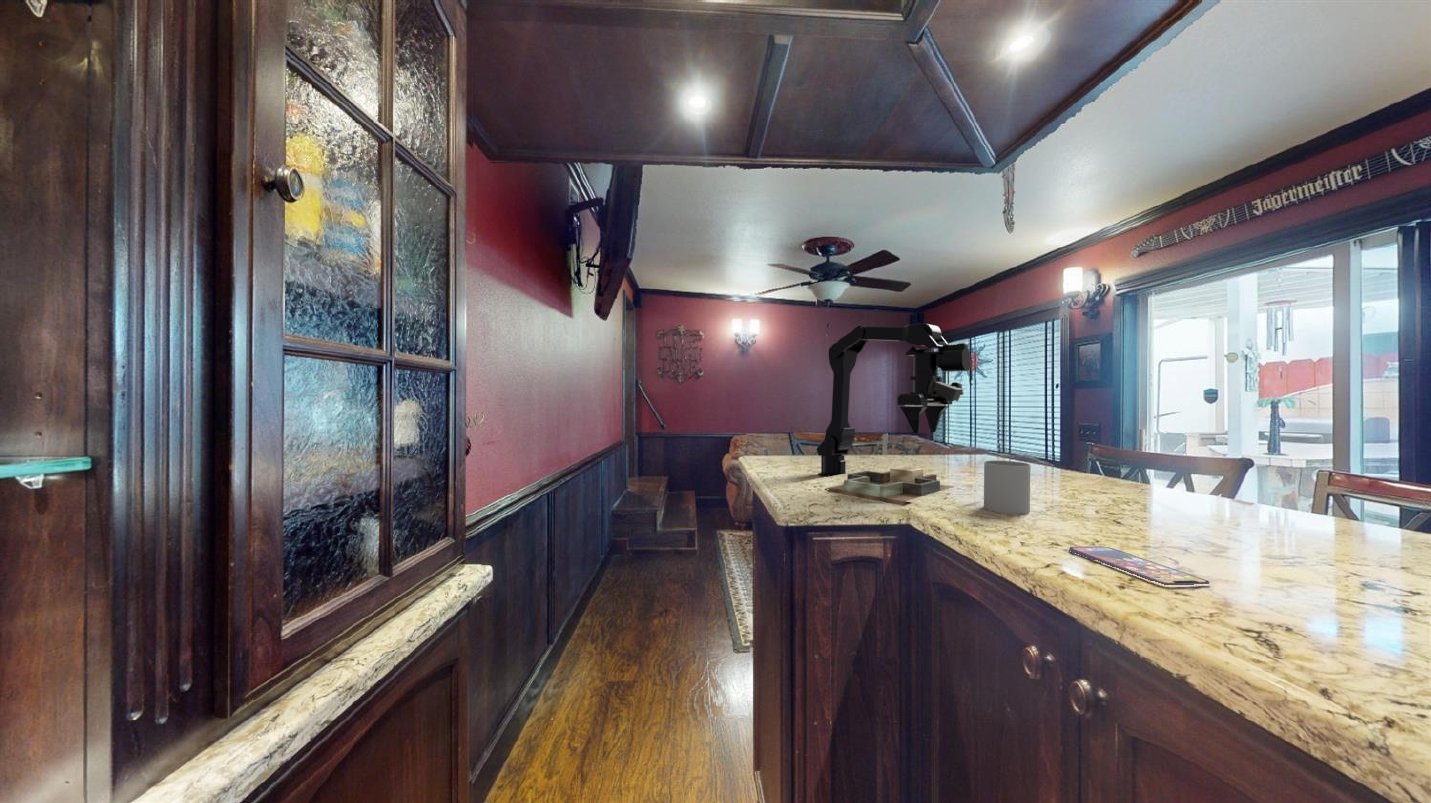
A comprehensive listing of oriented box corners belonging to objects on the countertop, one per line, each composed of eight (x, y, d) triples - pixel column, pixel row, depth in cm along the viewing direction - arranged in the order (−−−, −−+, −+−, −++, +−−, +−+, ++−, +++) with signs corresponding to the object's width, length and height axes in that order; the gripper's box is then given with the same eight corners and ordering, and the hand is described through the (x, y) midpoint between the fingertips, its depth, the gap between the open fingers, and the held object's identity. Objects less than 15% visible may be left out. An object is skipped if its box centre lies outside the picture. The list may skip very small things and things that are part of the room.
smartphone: (1106, 551, 76) (1215, 589, 62) (1064, 552, 76) (1164, 591, 61) (1106, 546, 76) (1215, 582, 62) (1065, 546, 76) (1165, 584, 61)
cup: (1017, 505, 106) (1017, 460, 106) (1038, 515, 98) (1038, 466, 98) (977, 504, 107) (977, 460, 107) (994, 514, 99) (995, 465, 99)
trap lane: (828, 491, 121) (828, 477, 121) (882, 479, 138) (882, 467, 138) (903, 505, 106) (903, 489, 106) (954, 490, 123) (954, 477, 123)
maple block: (890, 483, 127) (890, 468, 127) (901, 480, 131) (901, 466, 131) (911, 486, 122) (912, 471, 122) (923, 483, 126) (923, 468, 126)
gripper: (940, 370, 111) (940, 437, 112) (973, 372, 124) (972, 433, 124) (895, 371, 120) (895, 434, 120) (930, 374, 132) (929, 430, 132)
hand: (925, 432), depth 124 cm, fingers open, 9 cm apart
